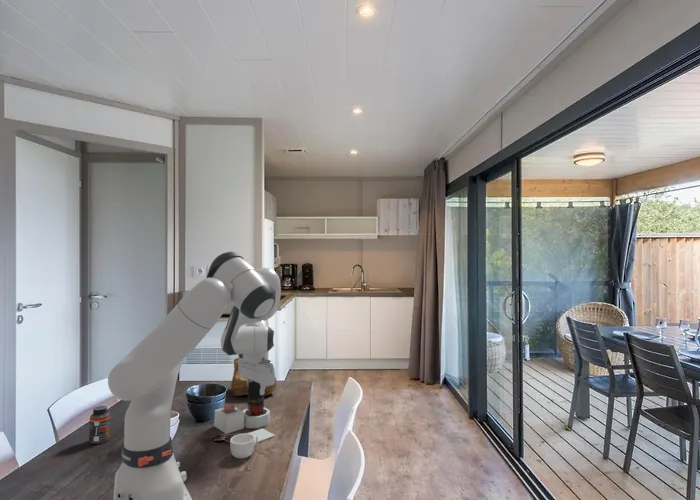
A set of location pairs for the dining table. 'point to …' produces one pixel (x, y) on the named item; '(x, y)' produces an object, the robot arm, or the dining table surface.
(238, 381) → the rough brown rock
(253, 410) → the deodorant
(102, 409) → the supplement bottle
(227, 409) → the plunger
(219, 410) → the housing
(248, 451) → the teacup
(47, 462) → the dining table surface
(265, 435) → the pad
